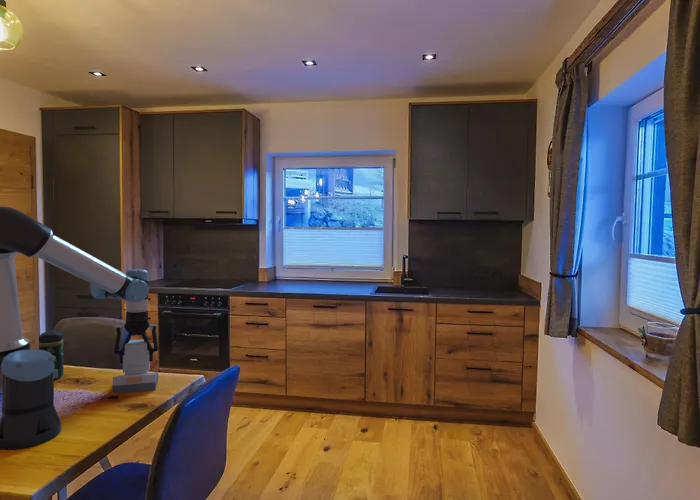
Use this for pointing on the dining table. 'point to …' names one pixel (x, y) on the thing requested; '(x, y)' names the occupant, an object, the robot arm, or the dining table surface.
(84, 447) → the dining table surface
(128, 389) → the grey display stand
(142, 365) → the supplement box
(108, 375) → the dining table surface
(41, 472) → the dining table surface
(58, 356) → the coffee jar
